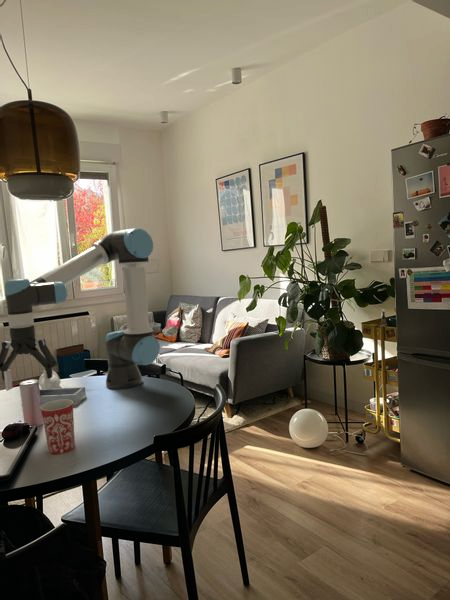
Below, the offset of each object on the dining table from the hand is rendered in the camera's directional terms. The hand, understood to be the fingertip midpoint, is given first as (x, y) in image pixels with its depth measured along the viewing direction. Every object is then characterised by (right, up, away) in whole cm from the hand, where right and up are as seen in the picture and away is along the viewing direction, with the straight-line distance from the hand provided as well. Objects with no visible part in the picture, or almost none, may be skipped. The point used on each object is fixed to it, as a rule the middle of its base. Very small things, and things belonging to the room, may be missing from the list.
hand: (28, 388), depth 151 cm
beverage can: (+1, -13, +2) cm, 13 cm away
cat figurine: (-9, -9, +41) cm, 43 cm away
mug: (+18, -14, -18) cm, 28 cm away
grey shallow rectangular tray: (0, -10, +25) cm, 27 cm away
